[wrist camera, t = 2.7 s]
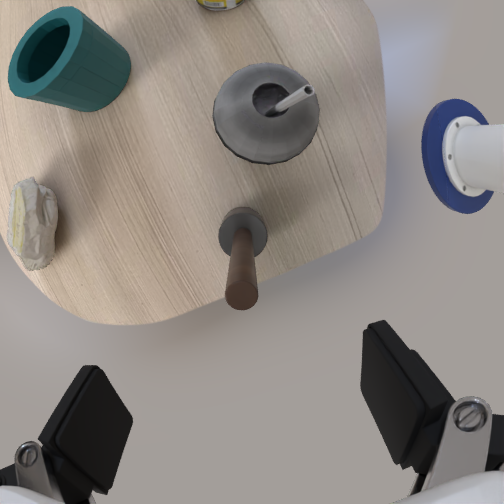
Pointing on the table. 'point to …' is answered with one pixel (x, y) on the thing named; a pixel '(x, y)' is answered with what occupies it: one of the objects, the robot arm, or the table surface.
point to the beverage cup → (266, 113)
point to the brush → (242, 254)
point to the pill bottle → (219, 4)
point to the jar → (68, 62)
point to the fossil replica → (32, 223)
